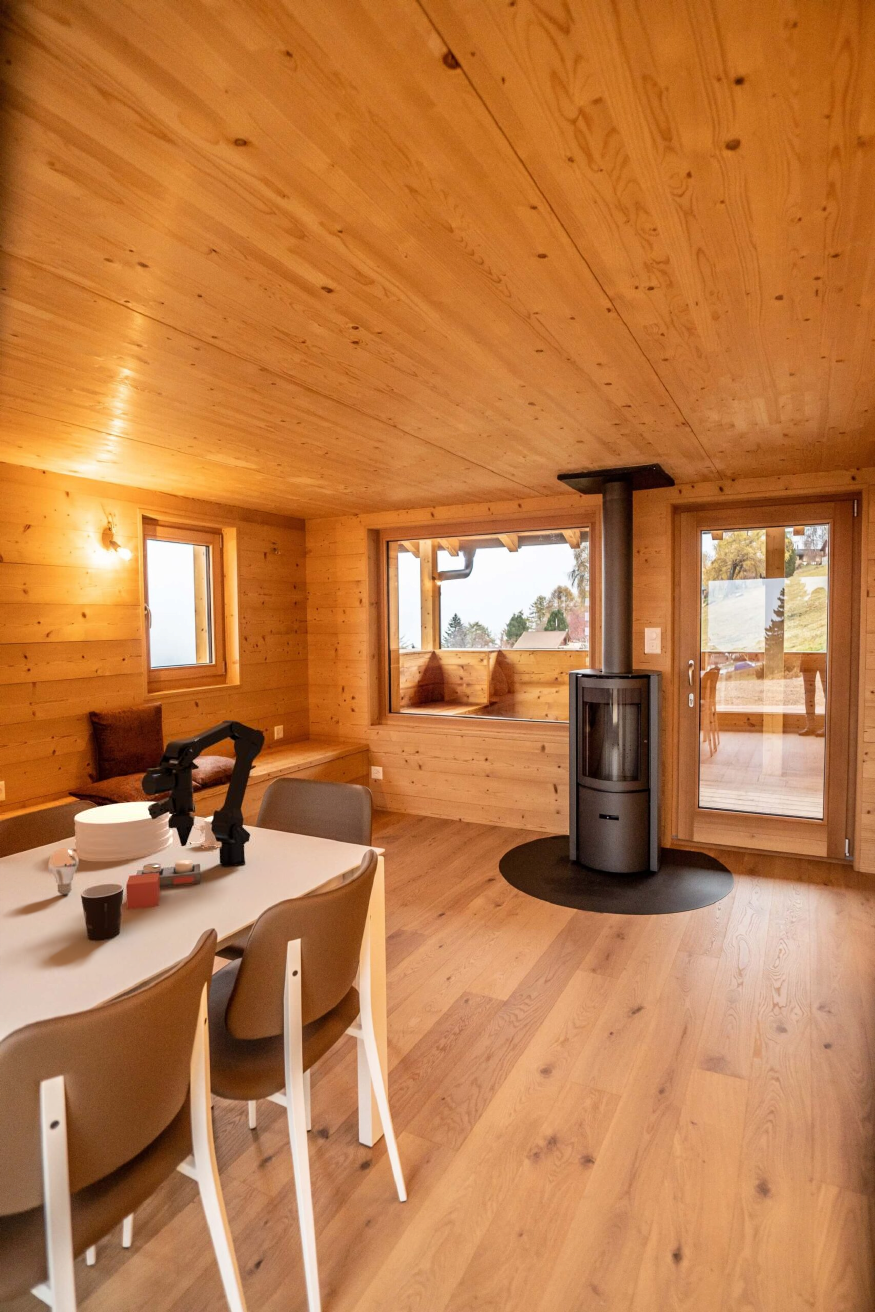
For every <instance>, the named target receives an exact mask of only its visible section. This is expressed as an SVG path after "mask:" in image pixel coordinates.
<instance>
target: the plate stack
mask: <svg viewBox="0 0 875 1312" xmlns="http://www.w3.org/2000/svg"><path fill="white" fill-rule="evenodd" d="M156 802H157V801H133V802H123V803H122V802H121V803H113V804H107V805H103V806H102V805H101V806H96V807H93V808H89V809H87V810H86V809H85V810H83V811H81V812H79V813H77V814H76V815H74V818H73V819H74V823H75V824H74V832H75V833H74V838H75V839H74V840H75V842H74V843H75V845H74V846H75V852H76V854H77V855H78V858H79V860H84V861H89V862H119V861H125V860H126V859H128V860H134V859H138V857H139V858H144V857H148V856H151V855H155V854H157V853H161V852H163V851H165V850H167V849H169V848H170V847H171V846H172V845H173V843H174V842H173V830H172V829H173V828H169V827H168V820H169V817H170V816H171V815H172V814H169V812H168V813H165V814H163V815H161V816H159V817H157V818H156V819H152V818H151V815H149V811H148V807H149V806H150V805H151V804H154V803H156ZM133 858H134V859H133Z"/></svg>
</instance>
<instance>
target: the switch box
mask: <svg viewBox="0 0 875 1312" xmlns="http://www.w3.org/2000/svg"><path fill="white" fill-rule="evenodd" d="M192 865H193V870H192V871H190V872H187V873H176V872H175V865H174V866H168V867H167V866H166V867H161V874H159V880H160V889H164V888H165V889H166V888H176V887H182V886H183V887H185V886H192V885H200V884H201V883H200V882H201V863H195V864H193V863H192ZM141 874H143V869H140V870H139V869H138V870H137V871H136V874H135V875H141Z"/></svg>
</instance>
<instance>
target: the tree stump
mask: <svg viewBox="0 0 875 1312" xmlns="http://www.w3.org/2000/svg"><path fill="white" fill-rule="evenodd" d="M203 820H204V821H203V825H202V824H199V823H198V824H195V826H198V827H194V826H193V828H194V829H196V830H200V831H201V834H200V837H201V836H202V835H203V834H204V839H205V840H203V839H202V840H200V841H197V842H196V843H200V844H199V845H197V847H201V845H203V846H202V847H201V848H203V849H205V848H204V847H207V848H209V847H208V846H210V845H216V846H217V847H218V846H220V845H221V842H217V841H216V838H215V836H214V835H213V832H212V831H211V828H212V825H211V822H212V820H213V815H212V816H208V817H206V818H204V819H203ZM190 842H191V843H194V842H193V841H190ZM204 844H205V845H204ZM210 847H211V846H210ZM220 847H221V846H220Z"/></svg>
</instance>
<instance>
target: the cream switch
mask: <svg viewBox="0 0 875 1312" xmlns="http://www.w3.org/2000/svg"><path fill="white" fill-rule="evenodd" d="M174 866H175V872H176V873H187V872H190V871H192V870H193V860H192V859H181V860H178V861H175V863H174Z"/></svg>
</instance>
